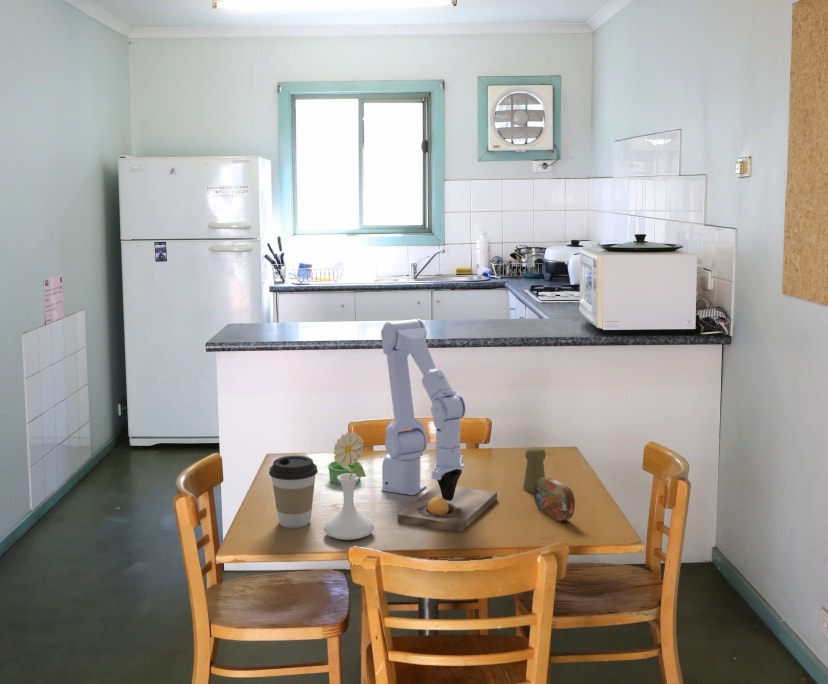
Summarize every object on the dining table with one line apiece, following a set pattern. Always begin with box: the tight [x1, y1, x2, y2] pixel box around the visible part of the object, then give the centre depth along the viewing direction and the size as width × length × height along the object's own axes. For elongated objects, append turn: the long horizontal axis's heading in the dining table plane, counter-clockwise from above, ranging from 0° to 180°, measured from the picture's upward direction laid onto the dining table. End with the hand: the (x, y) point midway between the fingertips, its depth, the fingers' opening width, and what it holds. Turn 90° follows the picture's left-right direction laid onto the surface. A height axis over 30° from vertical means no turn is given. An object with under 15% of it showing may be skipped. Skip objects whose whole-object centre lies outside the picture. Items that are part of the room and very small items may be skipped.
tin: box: [533, 476, 576, 522], centre depth 238 cm, size 15×3×8 cm, turn 23°
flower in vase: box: [323, 431, 375, 541], centre depth 223 cm, size 13×11×25 cm
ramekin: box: [327, 460, 363, 486], centre depth 264 cm, size 9×9×4 cm
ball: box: [428, 497, 449, 515], centre depth 236 cm, size 5×5×5 cm
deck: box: [397, 483, 498, 534], centre depth 241 cm, size 16×24×2 cm, turn 155°
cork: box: [522, 446, 546, 494], centre depth 256 cm, size 6×6×11 cm
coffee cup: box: [268, 455, 319, 529], centre depth 233 cm, size 11×11×15 cm
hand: (447, 499), depth 240 cm, fingers closed
